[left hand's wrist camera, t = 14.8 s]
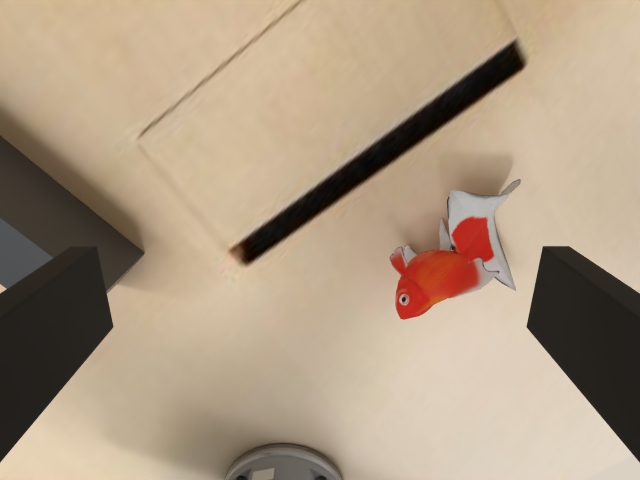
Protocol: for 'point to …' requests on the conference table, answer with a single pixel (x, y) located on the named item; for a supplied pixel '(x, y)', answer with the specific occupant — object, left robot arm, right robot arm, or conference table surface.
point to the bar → (50, 224)
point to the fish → (454, 256)
